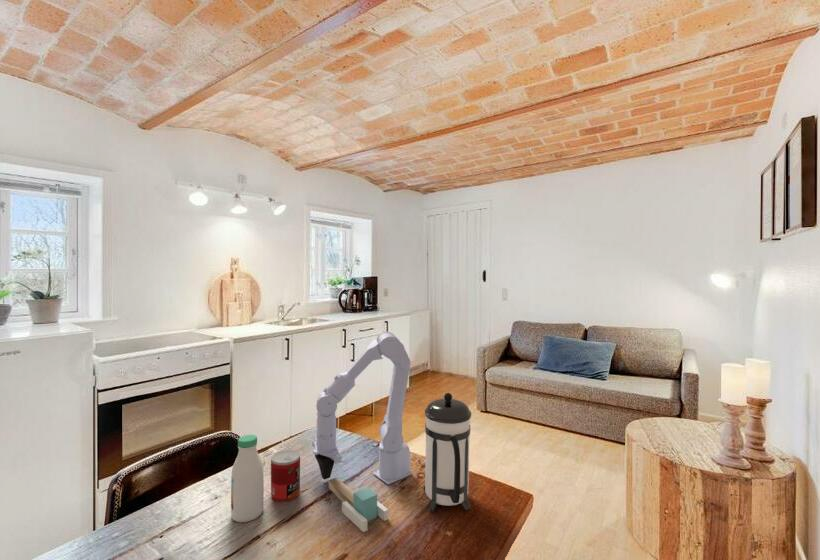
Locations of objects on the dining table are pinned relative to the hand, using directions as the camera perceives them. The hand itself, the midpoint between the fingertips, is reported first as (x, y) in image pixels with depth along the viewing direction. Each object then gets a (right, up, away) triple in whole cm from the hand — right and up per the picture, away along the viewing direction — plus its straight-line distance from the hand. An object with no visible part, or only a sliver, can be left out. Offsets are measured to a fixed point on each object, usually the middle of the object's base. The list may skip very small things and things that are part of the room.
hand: (326, 477), depth 115 cm
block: (+14, -2, -16) cm, 21 cm away
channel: (+13, -2, -16) cm, 21 cm away
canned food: (-10, -1, -7) cm, 12 cm away
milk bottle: (-17, -2, -15) cm, 23 cm away
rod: (+7, -2, -8) cm, 11 cm away
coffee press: (+36, -2, -10) cm, 37 cm away
